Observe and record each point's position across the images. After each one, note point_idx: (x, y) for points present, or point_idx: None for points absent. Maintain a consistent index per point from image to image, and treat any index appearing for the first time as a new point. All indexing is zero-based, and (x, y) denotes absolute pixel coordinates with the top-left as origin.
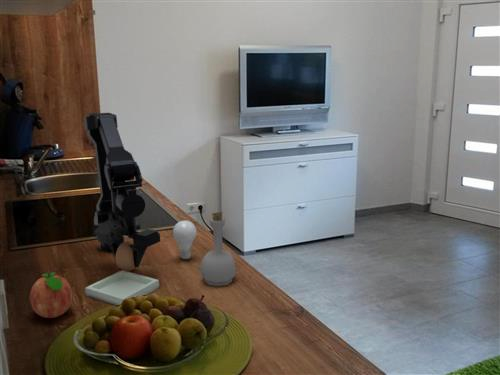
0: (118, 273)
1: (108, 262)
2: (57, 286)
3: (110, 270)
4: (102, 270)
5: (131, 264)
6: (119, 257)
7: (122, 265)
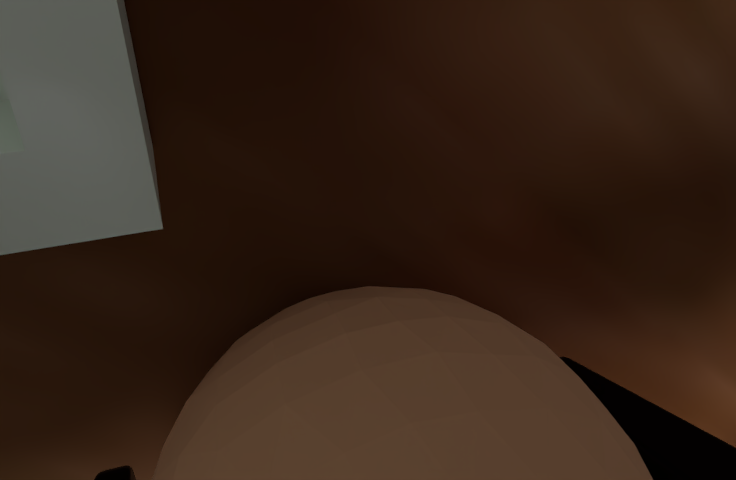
0: (36, 31)
1: (728, 316)
2: None
3: (566, 194)
4: (675, 119)
5: (157, 476)
6: (434, 464)
7: (298, 338)
